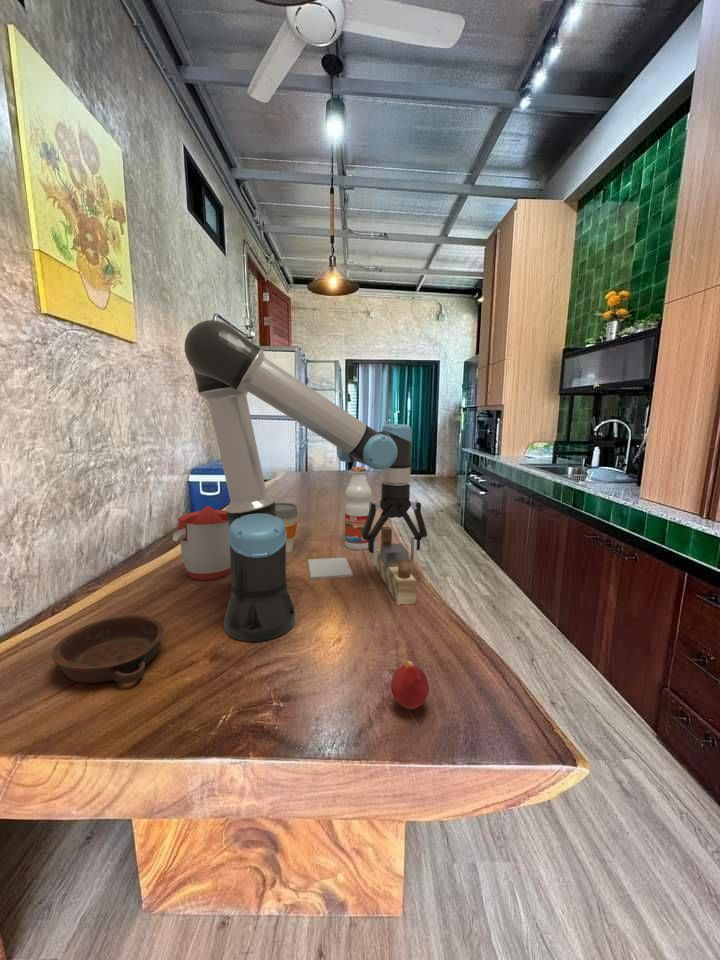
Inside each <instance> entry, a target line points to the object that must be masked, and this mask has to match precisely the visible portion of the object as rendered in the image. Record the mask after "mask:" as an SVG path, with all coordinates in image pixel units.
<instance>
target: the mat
mask: <svg viewBox="0 0 720 960" xmlns="http://www.w3.org/2000/svg"><path fill="white" fill-rule="evenodd" d="M307 562H308V569H309V570H308V571H309V574H310V575H309V578H310V580H315V579H317V580H318V579H332V578H334V579H335V578H353V576H354V574H353V571H352V568H351V567H350V564H349V561H348V559H347V557H335V558H334V557H332V558H331V557H330V558H316V559H315V558H314V559H313V558H312V559H310V558H309V559H308V560H307Z"/></svg>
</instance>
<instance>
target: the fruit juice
mask: <svg viewBox="0 0 720 960" xmlns="http://www.w3.org/2000/svg"><path fill="white" fill-rule="evenodd" d="M366 472H367V468H366V467H363V466H354V467H353V466H352V467H351V473H352V476H351V478H350V481H349V483H348V485H347V486H346V489H345V492H344V493H345V499H346V502H345V505H344V506H345V507H344V545H345V548H347V549H350V550H352V551H364V550H368V540H364V539H363V537H362V532H363V529H364V526H365V523H366V520H367V517H368V514H369V511H370V509H369V504H370V502H371V499H372V495H373V493H372V492H373V491H372V488H371V486H370V485H369V482H368V480H367V479H368V478H367V476H366ZM372 526H373V525H372ZM372 526H371V529H370V532H371V531H372V529H373V528H372ZM370 532H369V534H370Z"/></svg>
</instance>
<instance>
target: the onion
mask: <svg viewBox="0 0 720 960" xmlns="http://www.w3.org/2000/svg"><path fill="white" fill-rule="evenodd" d="M390 688H391V694H392V696H393V698H394V699H395V701H396V702H397V703H398V704H399V705H400V706H402V707H403V708H405V709H406V710H409V711H410V710H414V709H415V710H416V709H417V708H419V707H420V706H422V705H424V703H426V701H427V698H428V697H429V693H430V685H429V681H428V678H427V676H426V674H425V673H424V671H423V670H422V669H421V668H420V667H418V666H417V665H415V664H413V662H412V661H411V660H406V661H405V664H404V665H401V666H400V667H399V668H398V669H397V670H396V671H395V672H394V674H393V677H392V678H391V682H390Z"/></svg>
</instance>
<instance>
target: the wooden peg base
mask: <svg viewBox="0 0 720 960" xmlns="http://www.w3.org/2000/svg"><path fill="white" fill-rule="evenodd" d="M380 531H381V532H380V535H381V536H380V545H381V544H393V543H392V541H393V540H392V537H393V535H392V534H393V533H392V531H393V529H392V528H391V527H390V526H383V527H382V528H381V530H380ZM380 548H381V546H377V560H376V565H374V566H375V569H376V570H377V571H378V572H377V573H379V575H380V577H381V578H382V580H383V582H384V584H385V586H386V585H387V586H386V588H387V589H388V591H389V593H390V592H391V593H390V594H391V596H392V598H393V600H394V601H395V603H396V604H397V606H401V605H400V604H405V605H415V603H417V600H416V599H417V583H418V582H417V581H418V580H417V579H416V578H415V576H414V575H413V574H412V573H411V563H412V561H411V559H409V558H408V559H400V560H398V567H386V566H385V565H384V563H383V562H382V560H381V558H380Z"/></svg>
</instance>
